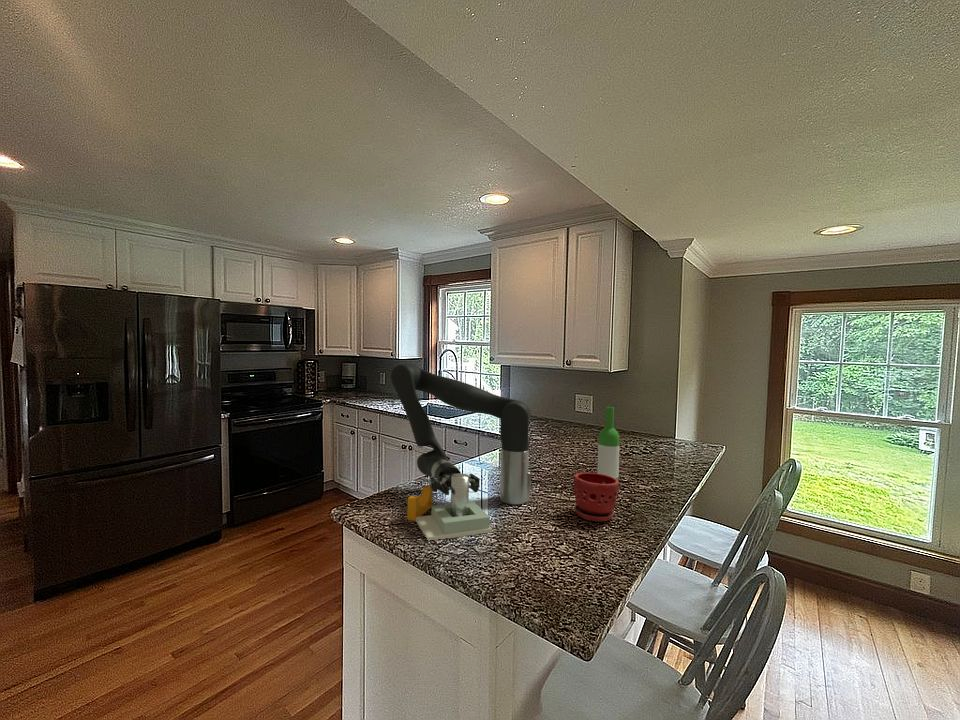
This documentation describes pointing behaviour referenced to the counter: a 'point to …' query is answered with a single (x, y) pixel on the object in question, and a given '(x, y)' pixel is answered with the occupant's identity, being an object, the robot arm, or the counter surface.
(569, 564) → the counter surface
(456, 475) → the steel shaft
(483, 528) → the pale green square frame
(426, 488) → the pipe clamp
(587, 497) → the plant pot
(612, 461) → the wine bottle
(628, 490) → the counter surface
